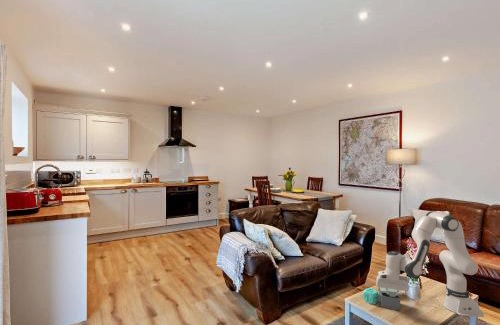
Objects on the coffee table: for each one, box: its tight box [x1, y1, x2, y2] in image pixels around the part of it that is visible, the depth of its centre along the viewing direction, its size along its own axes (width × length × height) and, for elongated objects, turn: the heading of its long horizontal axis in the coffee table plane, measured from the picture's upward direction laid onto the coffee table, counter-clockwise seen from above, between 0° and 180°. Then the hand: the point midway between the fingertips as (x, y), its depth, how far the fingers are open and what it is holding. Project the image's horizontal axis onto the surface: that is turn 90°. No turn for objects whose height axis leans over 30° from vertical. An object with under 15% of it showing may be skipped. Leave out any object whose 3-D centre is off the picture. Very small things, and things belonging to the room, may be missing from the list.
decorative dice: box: [362, 287, 379, 305], centre depth 201 cm, size 8×8×8 cm
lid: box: [380, 287, 402, 297], centre depth 194 cm, size 13×15×3 cm
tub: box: [378, 288, 401, 311], centre depth 196 cm, size 12×10×8 cm
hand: (391, 294), depth 189 cm, fingers closed on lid, 3 cm apart
